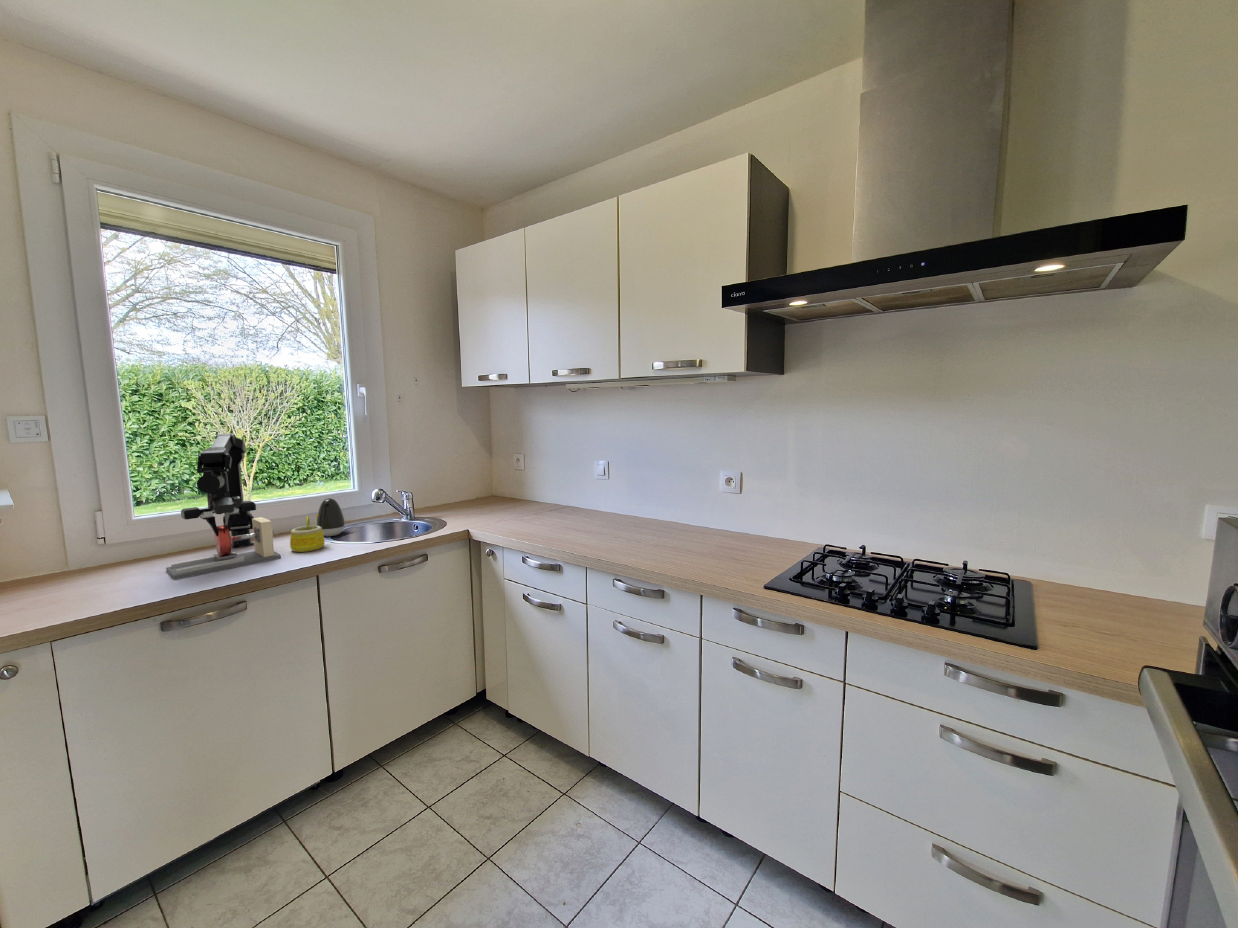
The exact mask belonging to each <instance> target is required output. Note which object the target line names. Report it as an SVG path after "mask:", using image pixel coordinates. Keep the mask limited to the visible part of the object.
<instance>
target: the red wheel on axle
mask: <svg viewBox="0 0 1238 928" xmlns="http://www.w3.org/2000/svg"><path fill="white" fill-rule="evenodd" d="M216 526H217V530H218V536H216V535H215V533H214V532H213V533H214V535H213V536H214V544H215V549H216V551H217V553H215V554H213V555H212V556H214V561H216V562H218V561H224V560H229V559H234V558H235V555H234V554H233V552H232V549H233V548H232V545H231V544H232V541H238V540H243V539H249V538H251V539H254V538H255V537H258V534H257V533H252V532H250V534H245V535H239V536H233V537H231V532H230V531H229V529H228V527H227V526H226V525H224V524H222V525H216ZM274 533H275V532H274V530H273V529H272V534H273V535H274Z"/></svg>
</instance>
